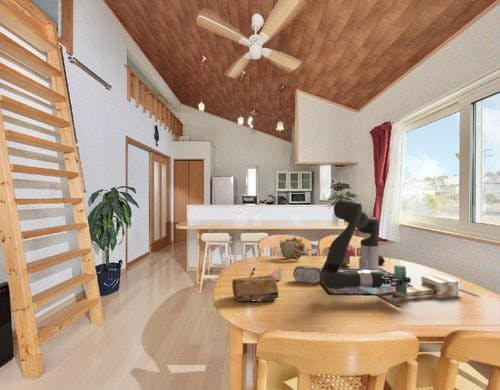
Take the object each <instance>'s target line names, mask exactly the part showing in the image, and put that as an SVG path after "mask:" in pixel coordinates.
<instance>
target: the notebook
mask: <svg viewBox="0 0 500 390" xmlns="http://www.w3.org/2000/svg"><path fill="white" fill-rule="evenodd" d="M281 268H282V267H281V266H280V268H279V270H278V271H277V270H276V271H274V272H272V273H271V274H270V273H269V274H268V275H267V276H273V277H275V278H276V280H279V278H280V279H282V277H281ZM279 281H280V280H279Z"/></svg>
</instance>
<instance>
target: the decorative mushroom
mask: <svg viewBox="0 0 500 390" xmlns="http://www.w3.org/2000/svg"><path fill="white" fill-rule="evenodd" d="M355 255H356V250H355V248H354V247H353V246H352V245H351V244H350V243H349V245H348V248H347V251H346V255H345V258H344V262H343V265H342V266H345V267H346V266H348V265H349V264H351V259H350V258H351V257H353V256H355Z"/></svg>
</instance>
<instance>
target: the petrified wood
mask: <svg viewBox="0 0 500 390" xmlns="http://www.w3.org/2000/svg"><path fill="white" fill-rule="evenodd" d="M231 285H232V286H231V287H232V294H233V298H234V297H236V299H235V300H237V301H240V302H250V300H255V301H258V300H265V301H272V300H275V299H277V298H279V290H278V283H277V281H276V278H275V277H273V276H262V277H261V276H259V277H251V276H249V277H248V276H247V277H242V278H235V279H233V280H232V284H231Z"/></svg>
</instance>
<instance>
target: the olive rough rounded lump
mask: <svg viewBox="0 0 500 390" xmlns="http://www.w3.org/2000/svg"><path fill="white" fill-rule="evenodd" d="M305 247H307V246H306V245H305V243H303V241H302V238H300V239H298V238H297V236H293V237H292V238H290V237H288V238H286V239H285V240H280V241H279V248H280V252H281V255H282V256H283V257H285V258H286V259H287V260H288V259H290V260H289V261H291V259H294V260H293V261H297V260H298V259H299V260H300V258H301V257H302V256H303V255H304V250H305ZM283 257H282V258H283ZM295 259H296V260H295Z"/></svg>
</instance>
